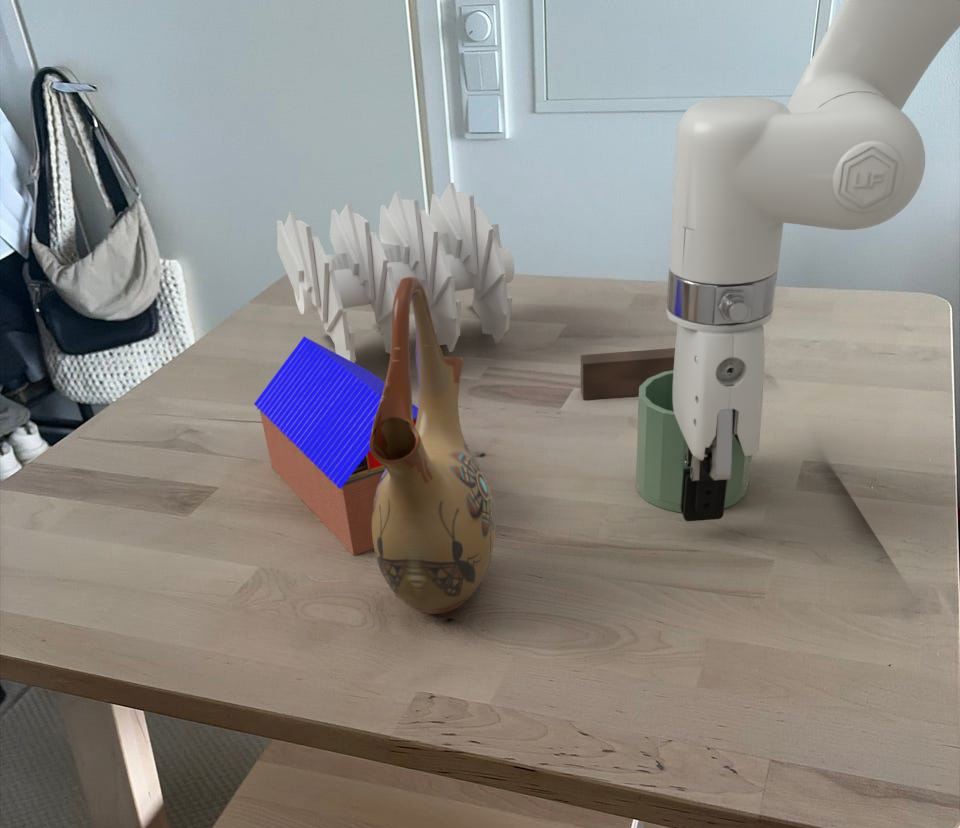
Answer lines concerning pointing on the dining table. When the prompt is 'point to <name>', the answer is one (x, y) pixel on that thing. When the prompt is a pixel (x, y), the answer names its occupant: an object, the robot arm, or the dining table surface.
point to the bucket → (672, 450)
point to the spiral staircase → (401, 266)
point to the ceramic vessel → (427, 473)
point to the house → (326, 438)
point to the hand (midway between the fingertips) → (701, 514)
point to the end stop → (622, 372)
